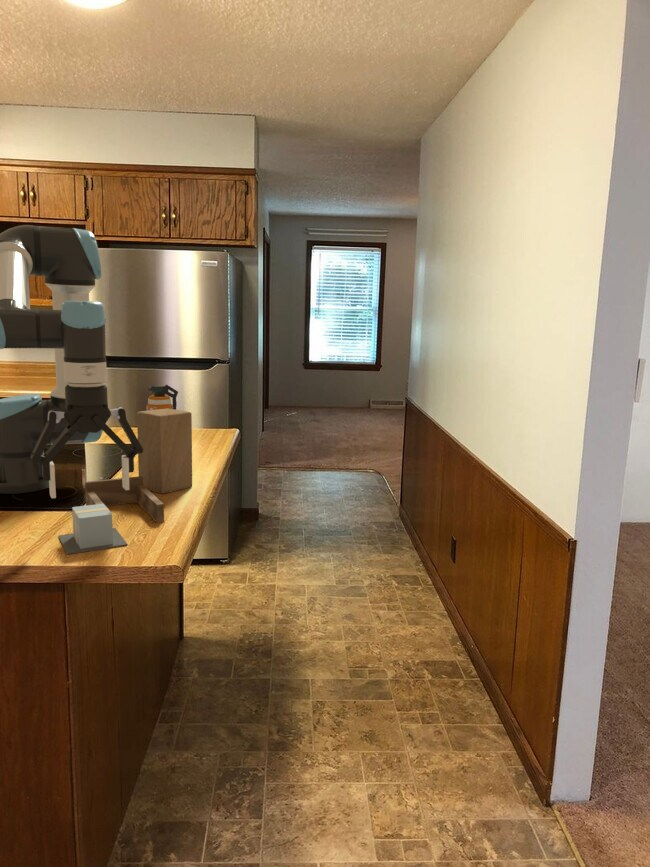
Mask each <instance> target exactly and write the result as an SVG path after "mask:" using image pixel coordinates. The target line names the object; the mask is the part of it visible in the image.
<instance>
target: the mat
mask: <svg viewBox="0 0 650 867" xmlns="http://www.w3.org/2000/svg"><path fill="white" fill-rule="evenodd" d="M58 538H59V540H60V543H61V545H62V547H63V549H64V552H65V553H66V555H74V554H75V555H76V554H80V553H88V552H94V551H100V550H106V549H113V547H115V548H121V547H127V545H128V543H127V541H126V540H125V538H124V537H123V536H122V535H121V533H120V532H119V530H117V528H116V527H113V544H110V545H104V546H97V547H90V548H83V549H80V547H79V545H78V544H77V542H76V540H75V538H74V536H73V533H67V534H66V533H65V534H58Z"/></svg>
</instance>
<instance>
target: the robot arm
mask: <svg viewBox="0 0 650 867" xmlns="http://www.w3.org/2000/svg"><path fill="white" fill-rule="evenodd" d="M30 276H36V277H44V285H45V286H46V287H47V288H49V290H50V291H51V293H52V294H51V296H52V309H33V308H31V302H30V300H31V299H30V282H29V281H30V280H29V277H30ZM101 278H102V266H101V258H100V253H99V246H98V243H97V239H96V237H95V234H94V233H93V232H92V231H90V230H87V229H82V228H75V227H59V226H57V227H56V226H42V225H33V224H32V225H31V224H22V225H17V226H13V227H10V228H8V229H6V230H4V231H3V232H1V233H0V350H4V349H54V361H55V363H54V365H55V381H56V382H55V383H56V384H55V387H54V388H53V389H52V390H51V391H50V393H49V394H50V395H49V396H50V399H43V397H42V396H41V395H40V394H39V393H34V394H33V393H32V394H22V395H15V396H9V397H4V398H0V494H12V495H13V494H24V493H33V492H37V491H42V490H45V489H48V488H49V496H50V498H51V499H56V498H57V491H56V469H55V463H54V462H53V459H54V458H55V457H56V455H58V453H59V452H60V451H61V450H62V448H64V446H65V445H69V444H70V445H73V444H81V445H83V444H86V443H87V444H89V443H96V442H98V441H99V440H100V439H101V438H102V434H103V432H104V433H105V434H106V435H107V436H108V437H109V438H110V440H112V441H113V442H114V443H115V445H117V447H118V448H120V450H122V451H123V452H124V453H125V454H124V455H121V478H122V487H123V488H124V489H125V490H129V477H130V473H133V472H134V471H135V457H136V455H138V454H139V453H142V452H143V448H142V446H141V445H140V443H139V441H138V436H136V434H135V432H134V430H133V429H132V427H131V425H130V423H129V422H128V420H127V414H126V410H125V409H124V407H122V406H117V407H116V408H112V409H110V408H109V402H108V386H107V385H106V384H105V383H107V381H108V374H107V371H108V370H107V355H106V350H107V349H106V348H107V347H106V343H107V342H106V323H107V318H106V315H105V314H106V313H105V305H104V304H103V302H102V301H101V302H100V301H91V300H90V293H91V291H93V289H95V288H96V280H100V279H101ZM111 416H113V418H114V419H115V420H117V421H118V422H119V424H120V426H121V428H122V430H123V432H124V433H125V435H126V437H127V438H128V441H129V442H130V444H131V446H132V447H131V448H130V447H129V446H128V444H126V442H124V441H123V440H122V439H121V438H120V437H119V436H118V435H117V434H116V433H115V432H114V430H113V429H112V428H110V426H108V425H107V422H108V421H109V419H110V418H111ZM46 446H50V447H49V448H48V449H47V450H46V451H45V449H46Z"/></svg>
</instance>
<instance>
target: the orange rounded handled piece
mask: <svg viewBox="0 0 650 867" xmlns="http://www.w3.org/2000/svg"><path fill="white" fill-rule="evenodd" d="M148 391H150V392H151V394H152V395H150V396H148V398H147V404H146V411H148V410H157V409H167V408H169V409H175V410H177V407H178V405H177V396H178V394H179V390H176V389H174V388H173V387H172V386H169V385H168V384H165V385H151V386H150V387H148ZM170 391H171V392H170ZM171 398H172V401H171Z"/></svg>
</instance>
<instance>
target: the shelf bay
mask: <svg viewBox="0 0 650 867" xmlns="http://www.w3.org/2000/svg"><path fill="white" fill-rule="evenodd" d="M84 490H85V506H87V505H96V504H104V505H105V506H106V507H109V506H116V505H117V504H118V505H124V504H123V503H126V504H133V503H132V502H135V503H137V504H138V505H140V507H142V508H143V509H144V511H145V512H146V511H147V512H148V513H149V514H150V515H151V516H152V517H153V518H154V519H155V520H156V521H157V522H158V523H164V522H165V503H164V502H162V501H161V500H160V499H159V498H158V497H157V496H156V495H154V494H153V492H152V491H151V490H148V489H147V488H146V487H145V486H143V477H142V476H139V475H138V476H129V490H125V489H124V488H123V487H122V477H120V478H119V477H118V478H111V479H109V478H108V479H100V480H91V481H90V480H89V481H85V482H84ZM147 512H146V513H147ZM149 514H148V515H149ZM150 515H149V516H150ZM151 516H150V517H151ZM152 517H151V518H152ZM153 518H152V519H153ZM155 520H154V521H155ZM156 521H155V522H156ZM162 521H163V522H162ZM157 522H156V523H157Z"/></svg>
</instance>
